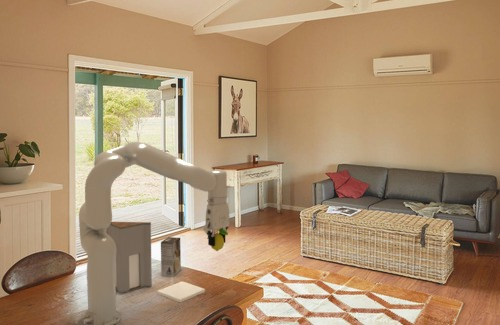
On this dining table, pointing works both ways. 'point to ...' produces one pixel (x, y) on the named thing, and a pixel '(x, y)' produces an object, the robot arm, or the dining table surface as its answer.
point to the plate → (181, 291)
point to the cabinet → (132, 255)
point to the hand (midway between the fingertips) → (216, 243)
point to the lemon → (219, 240)
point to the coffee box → (170, 256)
